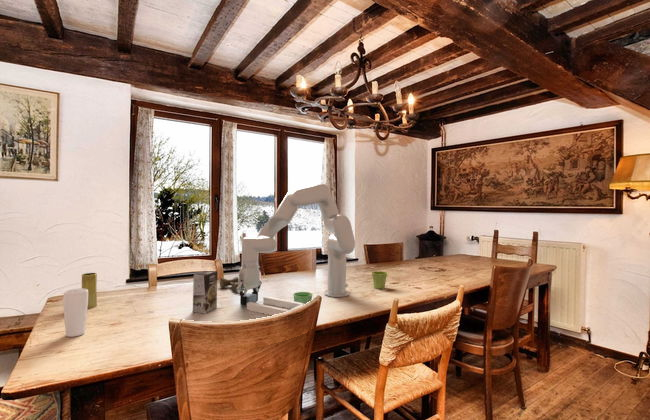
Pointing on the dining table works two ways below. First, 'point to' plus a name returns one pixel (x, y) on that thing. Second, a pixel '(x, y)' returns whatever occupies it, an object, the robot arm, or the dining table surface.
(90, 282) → the vase
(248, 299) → the block
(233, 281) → the kendama
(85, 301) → the drinking glass
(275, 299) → the channel
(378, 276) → the plant pot
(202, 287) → the coffee box
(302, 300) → the ramekin
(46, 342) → the dining table surface
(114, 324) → the dining table surface
